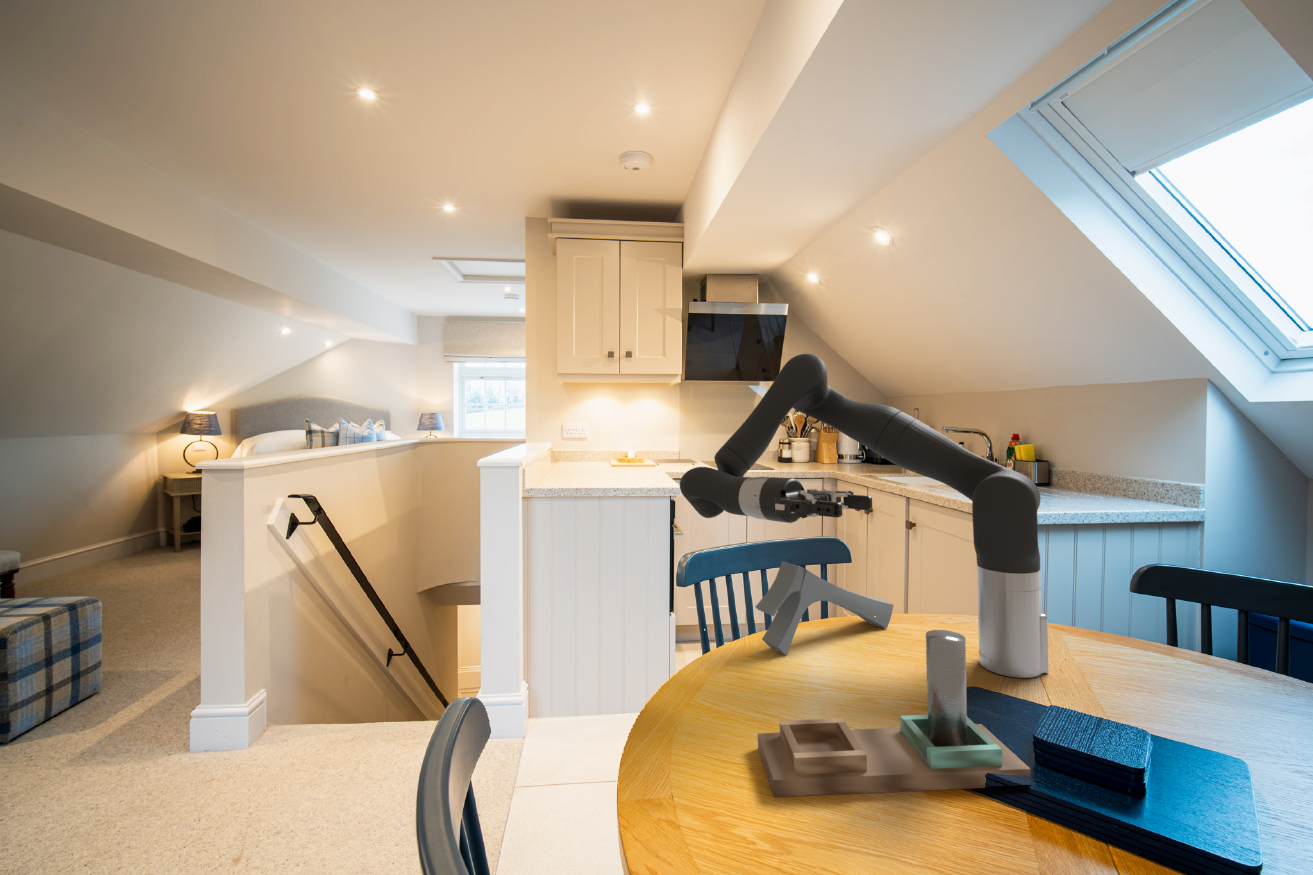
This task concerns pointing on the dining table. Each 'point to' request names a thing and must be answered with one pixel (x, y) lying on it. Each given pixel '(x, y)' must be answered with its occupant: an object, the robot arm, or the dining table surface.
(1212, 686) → the dining table surface
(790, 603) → the grey bent piece
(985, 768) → the brown insertion board
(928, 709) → the peg
